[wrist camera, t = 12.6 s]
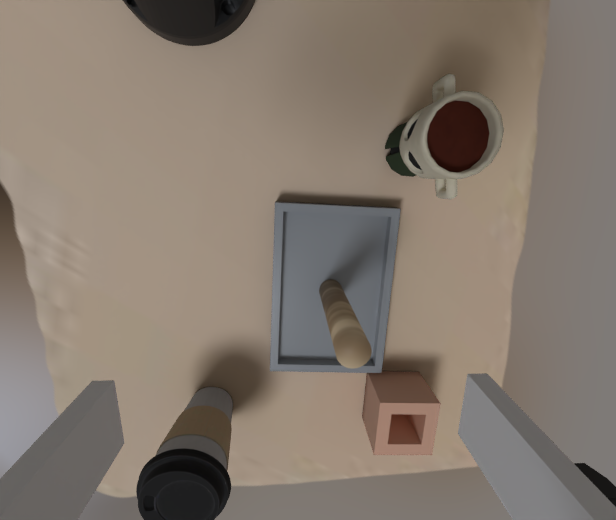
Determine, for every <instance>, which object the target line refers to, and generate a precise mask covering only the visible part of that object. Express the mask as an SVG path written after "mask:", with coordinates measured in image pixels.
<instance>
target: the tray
mask: <svg viewBox="0 0 616 520" xmlns="http://www.w3.org/2000/svg"><path fill="white" fill-rule="evenodd" d="M400 210H401V209H399V208H395V207H376V206H356V205H337V204H317V203H298V202H278V201H276V202H275V222H274V254H273V287H272V320H271V353H270V371H297V372H354V373H382V364H383V355H384V347H385V338H386V330H387V321H388V313H389V304H390V296H391V287H392V278H393V270H394V261H395V253H396V244H397V236H398V227H399V219H400ZM330 279H332V280H336V281H338V282H339V283H340V285H341V287H342V289H343V291H344V293H345V295H346V297H347V299H348V301H349V303H350V305H351V307H352V309H353V311H354V313H355V315H356V317H357V319H358V321H359V323H360V325H361V327H362V329H363V331H364V333H365V335H366V337H367V339H368V341H369V343H370V345H371V349H372V353H371V357H370V359H369V361H368V362H367V363H366V364H365V365H363V366H361V367H359V368H354V369H351V368H346V367H344V366H342V365H341V364H340V363H339V362H338V360H337V357H336V354H335V350H334V346H333V342H332V339H331V335H330V331H329V327H328V324H327V320H326V316H325V312H324V309H323V305H322V301H321V297H320V294H319V288H320V286H321V284H322V283H323V282H324V281H326V280H330Z"/></svg>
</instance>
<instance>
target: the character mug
mask: <svg viewBox="0 0 616 520" xmlns="http://www.w3.org/2000/svg"><path fill="white" fill-rule="evenodd" d="M443 89H444V97H443ZM432 96H433V103H432V104H430V105H428V106H426V107H424V108H423V109H421V110H419V111H418V112H416V113H415V114H414V115H413V116H412V117H411V118H410V120H409V121H408V122H407V123H405V124H402V125H400V126H398V127H397V128H396V129H395V130H394V131H393V132H392V133H391V134H390V135H389V138H388V140H387V143H386V145H385V149H388V148H391V150H390V153H391V155H390V156H387V157H386V161H387V162H388V164H389V166H390V167H391V169H392V170H394V171H395V172H397V173H398V174H400V175H403V176H416V175H417V176H419V177H422V178H428V179H435V187H436V196H437V197H438V198H442V199H453V198H455V197H456V196H457V179H463V178H466V177H469V176H472V175H475V174H478V173H479V172H481V171H482V170H483V169H484V168H485V167H487V166H488V165H489V164H490V163H491V162H492V161H493V159H494V157H495V156H496V154H497V152H498V151H499V149H500V147H501V142H502V137H503V132H504V129H503V123H502V118H501V114H500V112H499V111H498V109H497V108H496V106H495V105H494V103H493V102H492V100H490V99H488V98H487V97H485V96H484V95H482V94H480V93H479V92H470V91H460V92H457V93H456V88H455V76H454V75H452V74H447V75H445V76H444V77H442V78H441V79H439V80H438V81H437V82H435V83H434V85H433V90H432Z"/></svg>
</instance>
